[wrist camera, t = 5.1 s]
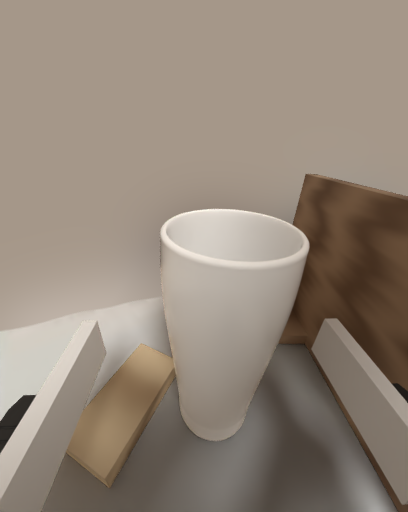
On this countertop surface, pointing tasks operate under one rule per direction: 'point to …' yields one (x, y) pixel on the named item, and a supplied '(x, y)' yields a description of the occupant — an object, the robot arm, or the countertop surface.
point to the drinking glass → (226, 308)
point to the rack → (355, 278)
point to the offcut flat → (121, 413)
